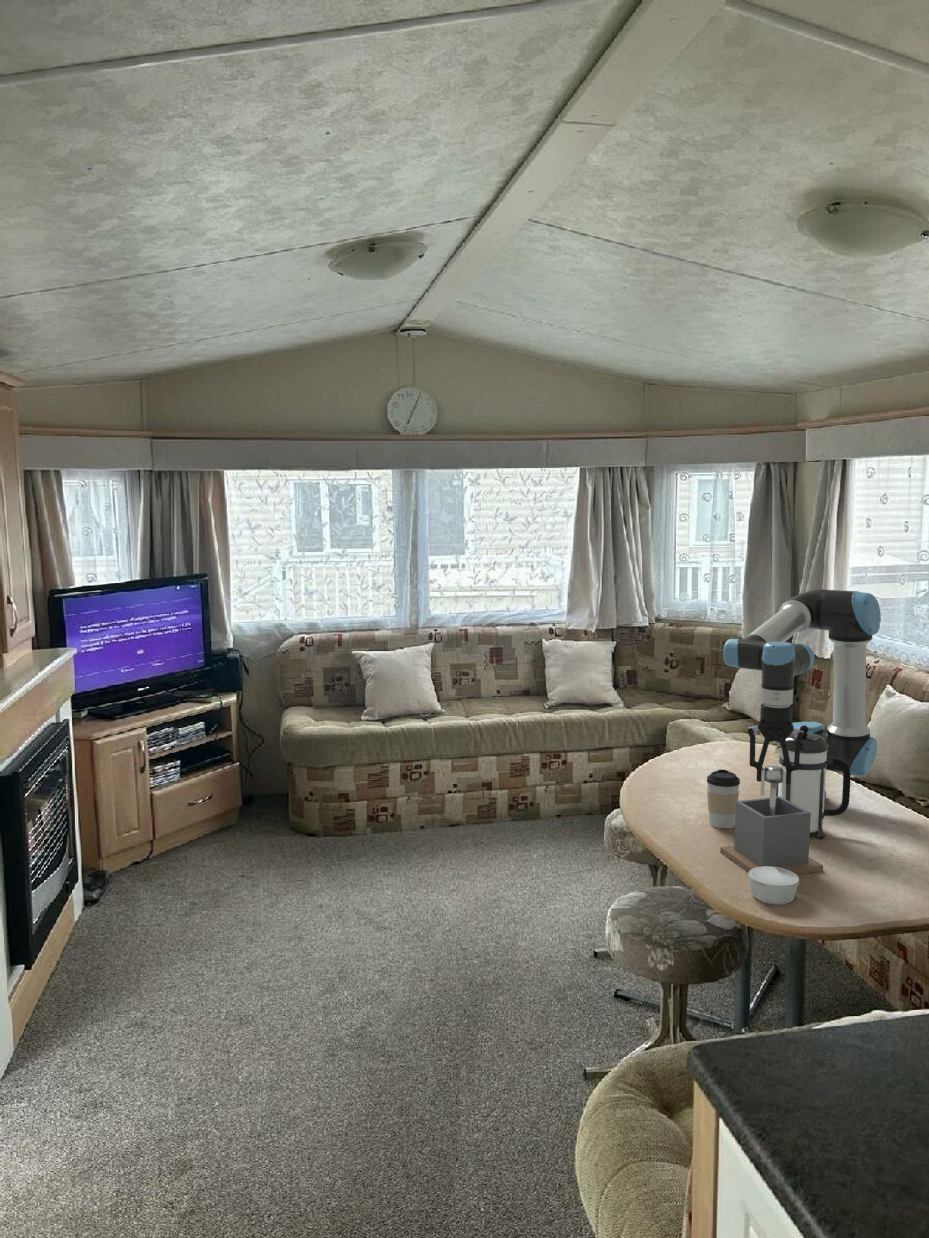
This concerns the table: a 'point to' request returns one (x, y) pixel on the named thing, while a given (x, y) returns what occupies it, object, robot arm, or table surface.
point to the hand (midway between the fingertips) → (773, 794)
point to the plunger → (773, 784)
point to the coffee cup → (722, 798)
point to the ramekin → (773, 884)
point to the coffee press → (812, 778)
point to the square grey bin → (772, 837)
